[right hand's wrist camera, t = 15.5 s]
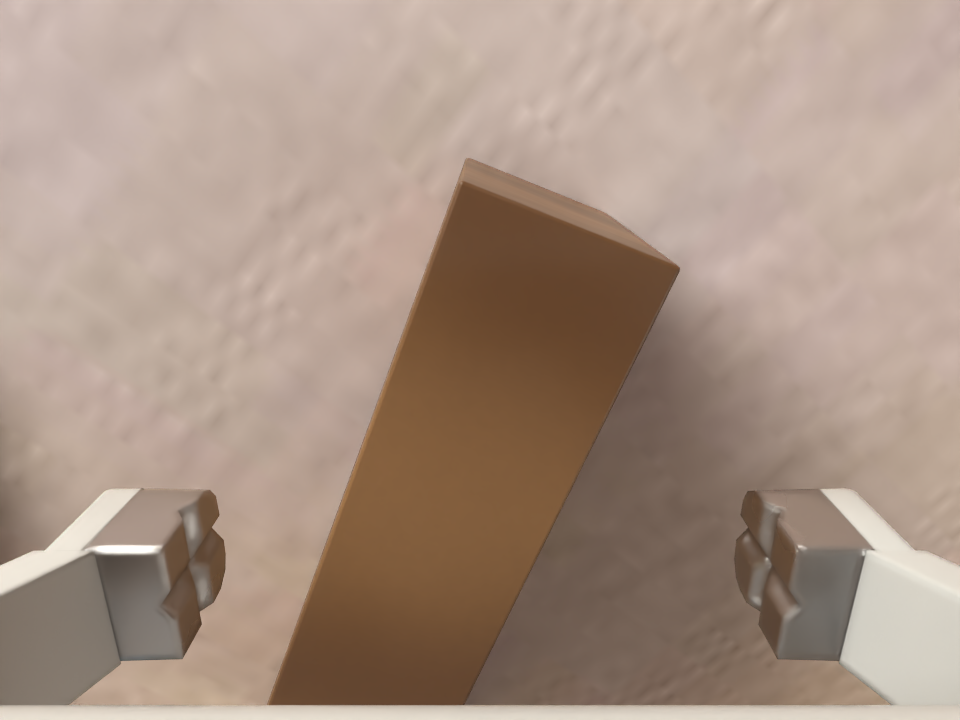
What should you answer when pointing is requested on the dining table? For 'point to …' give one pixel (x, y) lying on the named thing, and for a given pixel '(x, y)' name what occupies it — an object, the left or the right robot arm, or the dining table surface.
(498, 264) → the bar
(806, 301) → the dining table surface
